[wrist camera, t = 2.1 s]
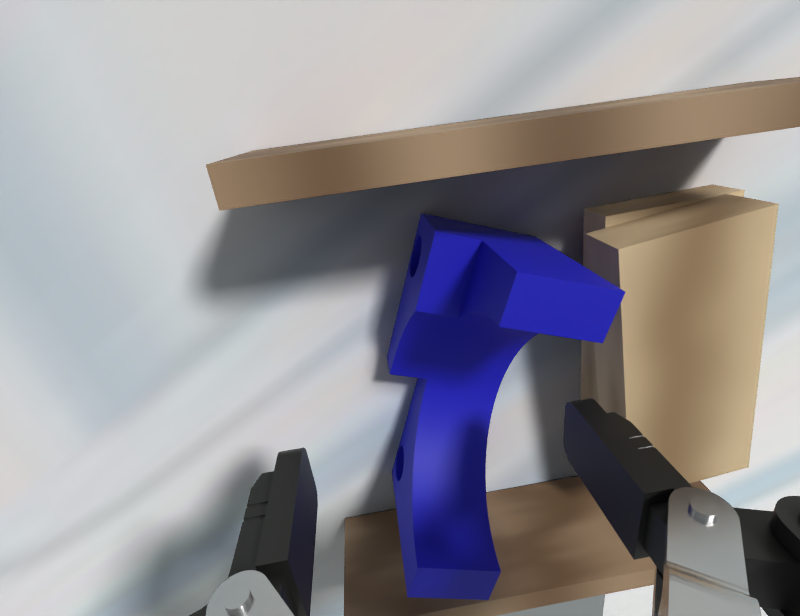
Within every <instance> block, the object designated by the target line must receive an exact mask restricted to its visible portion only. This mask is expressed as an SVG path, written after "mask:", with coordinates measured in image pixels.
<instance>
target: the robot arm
mask: <svg viewBox="0 0 800 616" xmlns="http://www.w3.org/2000/svg"><path fill="white" fill-rule="evenodd" d="M564 448H565V452H566V455H567V458H568V460H569V462H570V463H571V465H572V466H573V468H574V469H575V471H576V472H577V474H578V475H579V477H580V478H581V480H582V481H583V483H584V485H585V486H586V488H587V489H588V491H589V492H590V494H591V495H592V497H593V498H594V500H595V501H596V503H597V504H598V506H599V507H600V509H601V510H602V512H603V513H604V515H605V516H606V518H607V520H608V521H609V523H610V524H611V526H612V527H613V529H614V530H615V532H616V533H617V535H618V536H619V538H620V539H621V541H622V542H623V544H624V545H625V547H626V548H627V550H628V551H629V553H630V555H631V556H632V558H633V559H634V560H636V559H641V558H646V557H650V558H651V559H652V561H653V562H654V564H655V565H656V569H655V575H654V592H653V609H652V616H761V610H760V607H762V609H763V610H764V611H765V612H766V614H767V615H768V616H800V496H788V497H784V498H781V499H780V500H779V501H778V502H777V503H776V506H775V509H774V512H773V511H762V510H751V509H741V508H734V507H732V506H731V505H730V504H729V503H728V502H727V501H725V500H724V499H723V498H721V497H720V496H718V495H716V494H714V493H712V492H710V491H707V490H704V489H700V488H695V487H692V486H691V485H690V484H689V483H688V481H687V480H686V479H685V478H684V477H683V476H682V475H681V474H680V473H679V472H678V471H677V470H676V469H675V468H674V467H673V466H672V465H671V464H670V462H669V461H668V460H667V459H666V458H665V457H664V456H663V455H662V454H661V453H660V452H659V451H658V450H657V449H656V448H654V447H653V445H652V444H651V442H650V441H649V440H648V439H647V438H646V437H643V434H642V433H641V432H640V431H639V430H638V429H637V428H636V427H635V426H634V425H633V423H632V422H630V421H629V420H627V419H625V418H624V417H622V416H620V415H618V414H617V413H615V412H610V413H606V412H605V411H604V409H603V408H602V407H601V406H600V405H599V404H598V403H597V402H596V401H595V400H594V399H592V398H589V399H584V400H578V401H572V402H568V403H566V406H565V420H564ZM317 507H318V501H317V490H316V485H315V481H314V477H313V474H312V470H311V466H310V463H309V459H308V455H307V452H306V449H305V448H299V449H293V450H288V451H282V452H279V453H278V456H277V461H276V465H275V470H274V471H273V472H268V473H262V474H261V476H260V477H259V479H258V480H257V481H256V483H255V484H254V486H253V487H252V489H251V492H250V496H249V500H248V504H247V508H246V512H245V515H244V522H243V523H242V527H241V531H240V535H239V539H238V543H237V547H236V551H235V555H234V558H233V562H232V566H231V570H230V574H229V577H228V579H226V580H225V581H224V582H223V583H222V584H221V585H220V586H219V587H218V588H217V589H216V590H215V592H214V593H213V595H212V597H211V598H210V600H209V603H208V604H207V605H206V606H205V607H203V608H202V609H200V610H199V611H197V612H195V613H193V614H191V615H190V616H310V605H311V591H312V577H313V563H314V549H315V535H316V522H317Z"/></svg>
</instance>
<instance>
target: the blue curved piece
mask: <svg viewBox="0 0 800 616" xmlns="http://www.w3.org/2000/svg"><path fill="white" fill-rule="evenodd" d="M624 295H625V291H623V290H622V289H620V288H618V287H617V286H615V285H613V284H612V283H610V282H609V281H607V280H605V279H604V278H602V277H600V276H599V275H597V274H595V273H594V272H592V271H591V270H589V269H587V268H586V267H584V266H582V265H581V264H579V263H577V262H576V261H574V260H573V259H571V258H569V257H568V256H566V255H564V254H563V253H561V252H560V251H558V250H556V249H555V248H553V247H551V246H550V245H548V244H546V243H545V242H543V241H542V240H540V239H538V238H537V237H534V236H529V235H524V234H519V233H515V232H510V231H505V230H500V229H495V228H490V227H485V226H481V225H476V224H471V223H466V222H461V221H456V220H451V219H447V218H442V217H437V216H432V215H427V214H422V213H421V216H420V220H419V224H418V229H417V233H416V237H415V241H414V245H413V250H412V254H411V258H410V262H409V267H408V271H407V275H406V279H405V283H404V288H403V292H402V296H401V300H400V304H399V309H398V313H397V317H396V321H395V325H394V330H393V334H392V338H391V342H390V346H389V351H388V355H387V361H388V367H389V373H390V374H392V375H400V376H407V377H415V378H418V379H417V382H416V386H415V390H414V393H413V397H412V401H411V404H410V408H409V411H408V415H407V419H406V422H405V426H404V430H403V433H402V437H401V441H400V444H399V448H398V452H397V455H396V459H395V463H394V466H393V470H392V476H393V484H394V492H395V501H396V509H397V517H398V525H399V533H400V541H401V549H402V558H403V566H404V574H405V582H406V590H407V597H414V598H444V599H474V600H489V598H490V595H491V593H492V591H493V589H494V586H495V584H496V582H497V580H498V577H499V575H500V573H501V570H500V566H499V563H498V560H497V556H496V552H495V549H494V545H493V540H492V535H491V530H490V524H489V518H488V509H487V499H486V481H485V463H486V447H487V437H488V430H489V424H490V419H491V414H492V410H493V405H494V402H495V398H496V395H497V392H498V389H499V386H500V384H501V381H502V379H503V377H504V374H505V372H506V370H507V369H508V367H509V365H510V363H511V362H512V360H513V358H514V357H515V355H516V354H517V353H518V351H519V350H520V349H521V348H522V347H523V346H524V345H525V344H526V342H528V341H529V340H530V339H531V338H532V337H534V336H535V335H537V334H538V333H541V334H547V335H554V336H560V337H566V338H572V339H578V340H585V341H591V342H597V343H603V342H604V340H605V337H606V335H607V333H608V331H609V328H610V326H611V324H612V322H613V319H614V317H615V315H616V313H617V310H618V308H619V306H620V304H621V301H622V299H623V297H624Z"/></svg>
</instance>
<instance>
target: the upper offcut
mask: <svg viewBox="0 0 800 616" xmlns="http://www.w3.org/2000/svg"><path fill="white" fill-rule="evenodd" d="M777 213H778V204H776V203H771V202H766V201H761V200H756V199H750V198H745V197H740V196H735V195H730V194H723V195H719V196H716V197H712V198H709V199H705V200H702V201H698V202H695V203H691V204H688V205H684V206H681V207H677V208H674V209H670V210H667V211H663V212H660V213H656V214H653V215H649V216H646V217H642V218H639V219H635V220H632V221H628V222H624V223H621V224H617V225H614V226H610V227H607V228H603V229H600V230H596V231H593V232H589V233H586V246H587V259H588V269H589V270H591V271H592V272H594V273H595V274H597V275H599V276H600V277H602V278H604V279H605V280H607V281H609V282H610V283H612V284H613V285H615V286H617V287H618V288H620V289H622V290H623V291H625V295H624V297H623V299H622V301H621V304H620V306H619V308H618V310H617V313H616V315H615V317H614V319H613V322H612V324H611V326H610V328H609V331H608V333H607V335H606V337H605V340H604V342H603V343H597V342H594V348H595V361H596V374H597V387H598V399H599V405H600V406H601V407H602V408H603V409H604V411H605V412H606V413H610V412H615V413H617V414H618V415H620V416H622V417H624V418H625V419H627V420H629V421H630V422H632V423H633V425H634V426H635V427H636V428H637V429H638V430H639V431H640V432H641V433H642V434H643V437H646V438H647V439H648V440H649V441H650V442H651V444H652V445H653V447H654V448H656V449H657V450H658V451H659V452H660V453H661V454H662V455H663V456H664V457H665V458H666V459H667V460H668V461H669V462H670V464H671V465H672V466H673V467H674V468H675V469H676V470H677V471H678V472H679V473H680V474H681V475H682V476H683V477H684V478H685V479H686V480H687V481H688V483H693V482H697V481H700V480H704V479H707V478H711V477H714V476H718V475H722V474H725V473H729V472H732V471H736V470H740V469H743V468H747V467H748V466H749V458H750V449H751V440H752V431H753V423H754V414H755V405H756V397H757V388H758V379H759V370H760V362H761V353H762V344H763V335H764V327H765V318H766V309H767V300H768V292H769V283H770V274H771V265H772V257H773V248H774V239H775V230H776V222H777Z"/></svg>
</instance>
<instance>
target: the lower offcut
mask: <svg viewBox="0 0 800 616" xmlns="http://www.w3.org/2000/svg"><path fill="white" fill-rule="evenodd" d="M744 191H745V190H740V189H734V188H729V187H723V186H717V185H708V186H702V187H697V188H692V189H686V190H681V191H676V192H670V193H665V194H660V195H654V196H649V197H644V198H638V199H633V200H628V201H622V202H617V203H612V204H606V205H601V206H596V207H590V208H585V209H584V239H583V266H584V267H586V268H587V269H588V259H587V246H586V233H589V232H593V231H596V230H600V229H603V228H607V227H610V226H614V225H617V224H621V223H624V222H628V221H632V220H635V219H639V218H642V217H646V216H649V215H653V214H656V213H660V212H663V211H667V210H670V209H674V208H677V207H681V206H684V205H688V204H691V203H695V202H698V201H702V200H705V199H709V198H712V197H716V196H719V195H723V194H730V195H735V196H740V197H744ZM589 398H592V399H594V400H595V401H596V402H597V403H598V404H599V399H598V387H597V374H596V361H595V348H594V342H591V341H585V340H582V350H581V400H584V399H589Z"/></svg>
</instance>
